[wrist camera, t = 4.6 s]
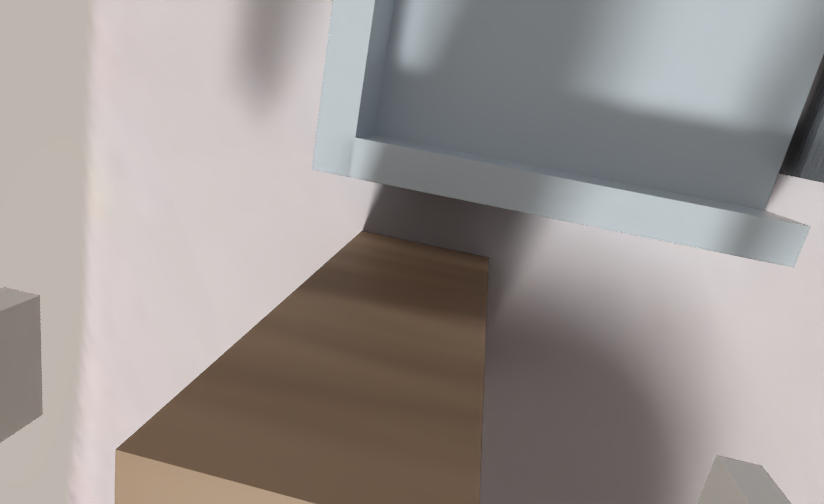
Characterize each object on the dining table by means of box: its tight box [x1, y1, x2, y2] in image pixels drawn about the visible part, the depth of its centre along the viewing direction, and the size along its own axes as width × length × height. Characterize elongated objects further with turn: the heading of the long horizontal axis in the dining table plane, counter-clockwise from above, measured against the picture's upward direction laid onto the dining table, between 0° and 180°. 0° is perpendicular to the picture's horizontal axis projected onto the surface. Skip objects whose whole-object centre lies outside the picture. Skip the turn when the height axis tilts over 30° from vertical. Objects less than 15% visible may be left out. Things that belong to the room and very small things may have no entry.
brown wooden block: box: [115, 231, 489, 504], centre depth 11 cm, size 4×4×11 cm
